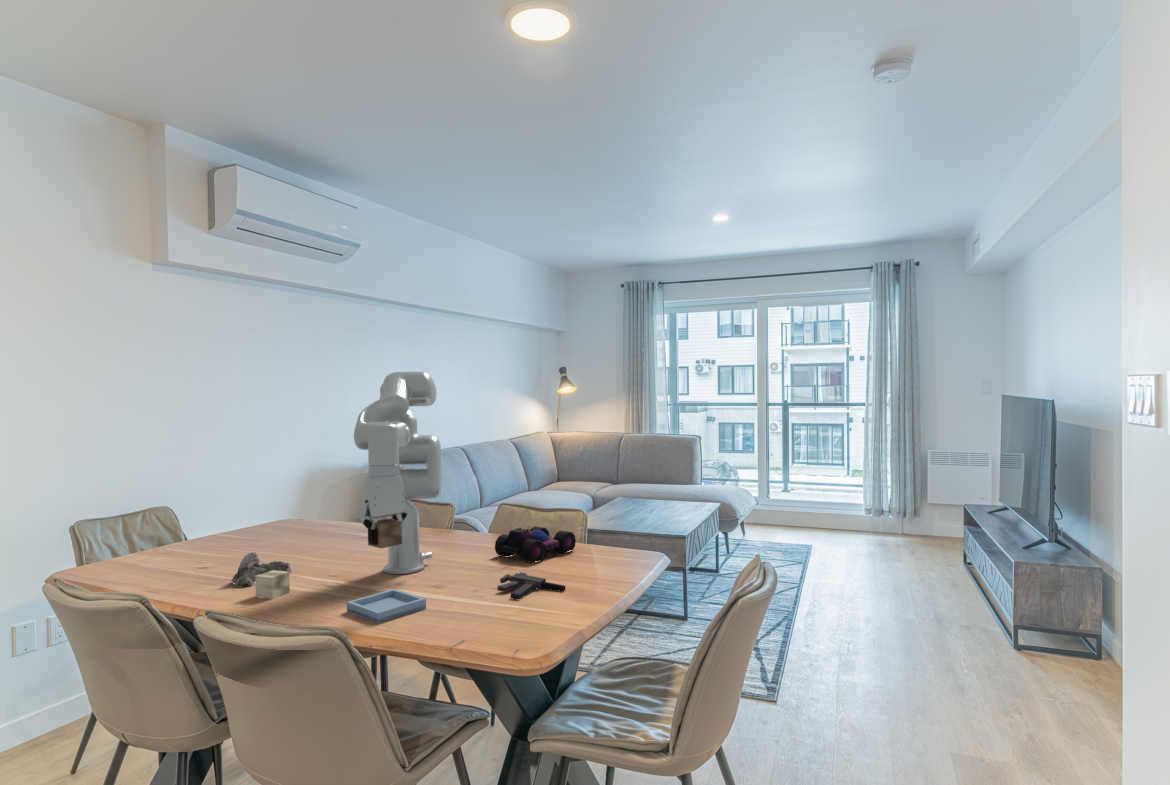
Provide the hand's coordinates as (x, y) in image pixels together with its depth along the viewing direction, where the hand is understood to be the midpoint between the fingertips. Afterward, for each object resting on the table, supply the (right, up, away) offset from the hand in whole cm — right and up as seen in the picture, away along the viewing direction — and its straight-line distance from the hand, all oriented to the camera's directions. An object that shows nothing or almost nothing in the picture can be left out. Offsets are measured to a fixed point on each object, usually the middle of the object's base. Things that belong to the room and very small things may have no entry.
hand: (384, 541), depth 165 cm
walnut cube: (0, -1, 0) cm, 1 cm away
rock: (-47, -19, +31) cm, 60 cm away
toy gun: (+35, -18, +14) cm, 42 cm away
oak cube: (-36, -18, +14) cm, 43 cm away
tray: (+1, -18, 0) cm, 18 cm away
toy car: (+34, -18, +57) cm, 69 cm away
